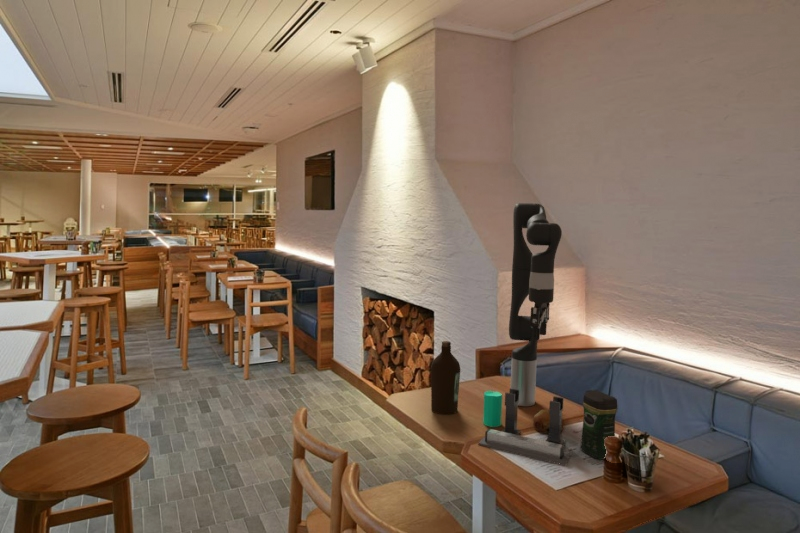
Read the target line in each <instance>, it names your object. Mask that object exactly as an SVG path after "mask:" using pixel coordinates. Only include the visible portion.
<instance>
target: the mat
mask: <svg viewBox="0 0 800 533" xmlns="http://www.w3.org/2000/svg"><path fill="white" fill-rule="evenodd" d="M478 445H479V446H481V447H482V446H483V447H487V448H491V449H495V450H500V451H504V452H507V453H512V454H516V455H521V456H524V457H528V458H532V459H537V460H541V461H544V462H545V461H546V462H549V461H550V463H553V462H555V463H554V464H557V463H558V465H561V464H564V465H563V466H566V465H567V464H568V462H569V459H570V458H569V457H571V453H568V452H564V456H563V458H562V459H558V458H554V457H550V456H546V455H541V454H537V453H533V452H528V451H524V450H520V449H516V448H511V447H507V446H503V445H498V444H494V443H490V442H485V436H483V437H482V439H481V440H480V441H479V442H478ZM559 463H560V464H559Z"/></svg>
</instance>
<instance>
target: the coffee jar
mask: <svg viewBox="0 0 800 533" xmlns="http://www.w3.org/2000/svg"><path fill="white" fill-rule="evenodd" d="M582 405H583V406H582V407H583V418H582V419H583V420H582V421H583V422H582V430H581V431H582V432H581V439H580V449H581V450H582V451H583V452H584V453H585V454H587V455H589V456H591V457H593V458H595V459H600V460H601V459H602V460H605V459H604V457H605V454H606V449H605V446H604V439H605V438H606V437H608V436H615V434H616V431H615V429H616V427H615V426H616V415H617V412H618V398H616V397H615V396H611V395H609V394H607V393H605V392H602V391H600V390H598V389H589V390H586V391H585V392H584V394H583V399H582ZM615 437H616V436H615Z"/></svg>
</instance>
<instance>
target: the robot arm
mask: <svg viewBox="0 0 800 533" xmlns="http://www.w3.org/2000/svg"><path fill="white" fill-rule="evenodd" d="M546 214H547V213H546V209H545V207H544V205H542V204H540V203H531V202H528V203H527V202H522V203H521V202H520V203H518V202H517V203H516V204H515V205H514V208H513V218H512V219H513V220H512V223H513V226H512V229H513V249H512V251H513V252H512V253H513V254H512V264H511V265H512V266H511V299H510V300H511V302H510V312H509V320H508V321H509V324H508V335H509V338H510V340H512V341H513V340H514V341H525V342H527V343H526V344H524V345H523V346H519V347H516V348H513V349H512V351H511V362H510V364H511V366H510V368H511V370H510V388H511V389H517V390H519V402H518V406H519V407H531V406H535V403H536V402H535V401H536V385H537V384H536V383H537V363H538V362H537V360H538V358H537V356H538V342H539V340H540V337H541V336H546V335H547V326H548V325H547V324H548V322H549V321H550V305H551V303H553V302H554V292H555V291H554V290H555V274H554V273H555V258H556V254H557V249H558V247H559V244H560V241H561V239H562V235H563V234H562V233H563V232H562V228H561V226H560V225H559V224H558V223H555V222H554V223H553V222H549V221H548V220H547V215H546ZM523 229H526V235H525V236H526V239H525V237H524V234H523ZM526 241H527V242H526ZM527 243H528V244H529V245H531V246H532V245H533V246H544V247H545V246H547V249H545V251H542V252H535V253H533V252H532V251H531V249H530V248H529V246H528V244H527ZM527 297H528V301H529V302H532V303H534V305H533V306H534V307H533V306H531V308H530V315H529V316H528V315H519V312H520V309H521V307H522V305H523V304H524V302H525V300H526V299H527Z"/></svg>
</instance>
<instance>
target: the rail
mask: <svg viewBox="0 0 800 533" xmlns="http://www.w3.org/2000/svg"><path fill="white" fill-rule="evenodd" d="M484 437H485V442H490V443H494V444H498V445H503V446H507V447H511V448H516V449H520V450H524V451H528V452H533V453H537V454H541V455H546V456H550V457H554V458H558V459H562V458H563V456H564V453H565V448H566V447H565V446H566V445H565V444H563V445H560V444H556V443H551V442H547V441H546V440H541V439H536V438H532V437H528V436H523V435H520V434H519V435H515V434H510V433H506V432H502V430H501V431H500V430H496V429H493V428H492V429H491V428H489V427H488V429H487V430H485V431H484Z"/></svg>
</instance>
